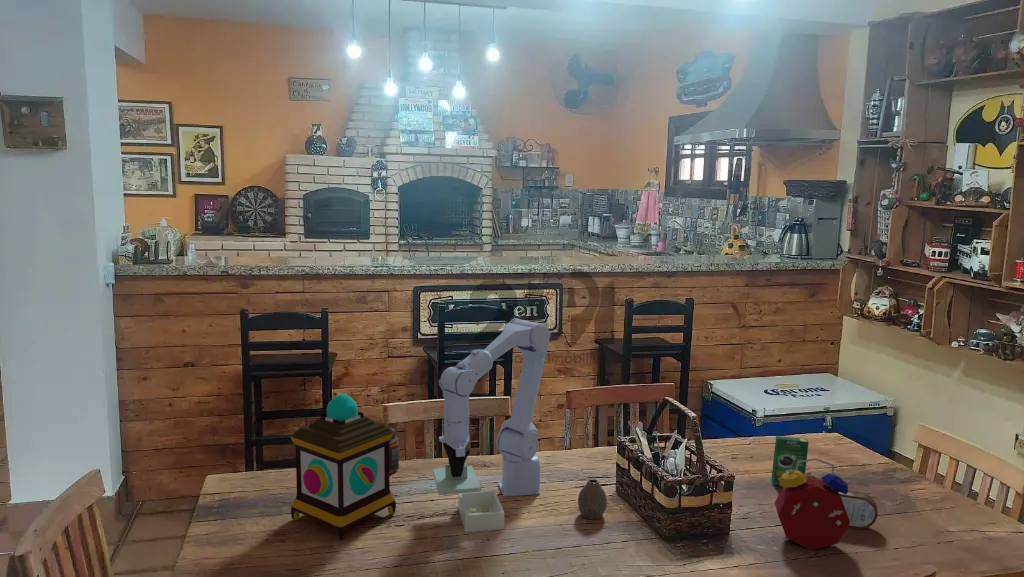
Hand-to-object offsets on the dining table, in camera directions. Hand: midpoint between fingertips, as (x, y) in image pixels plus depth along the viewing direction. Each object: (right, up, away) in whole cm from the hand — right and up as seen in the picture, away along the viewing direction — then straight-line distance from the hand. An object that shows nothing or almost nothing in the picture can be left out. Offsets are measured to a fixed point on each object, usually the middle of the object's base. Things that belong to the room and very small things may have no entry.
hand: (456, 474), depth 169 cm
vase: (+32, -11, +3) cm, 34 cm away
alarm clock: (+79, -14, -9) cm, 81 cm away
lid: (0, -2, 0) cm, 2 cm away
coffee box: (+87, -9, +23) cm, 90 cm away
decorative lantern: (-26, -10, +1) cm, 28 cm away
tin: (+91, -12, +1) cm, 92 cm away
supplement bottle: (-21, -6, +28) cm, 35 cm away
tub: (+6, -11, +1) cm, 12 cm away
